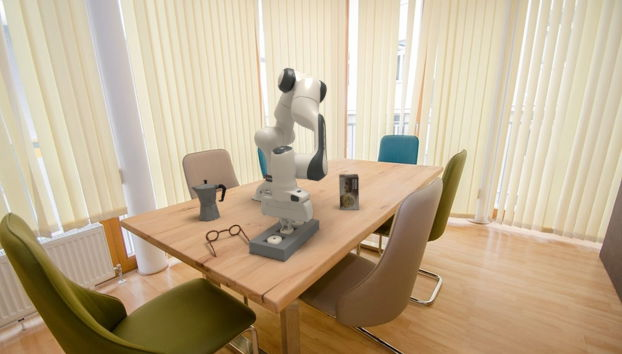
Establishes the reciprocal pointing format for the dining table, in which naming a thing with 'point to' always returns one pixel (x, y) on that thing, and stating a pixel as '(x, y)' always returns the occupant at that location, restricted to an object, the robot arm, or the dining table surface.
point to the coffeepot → (209, 200)
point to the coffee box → (349, 191)
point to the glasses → (224, 231)
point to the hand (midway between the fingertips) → (286, 229)
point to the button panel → (283, 240)
